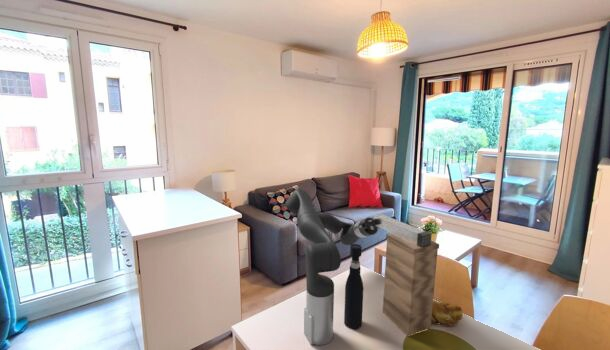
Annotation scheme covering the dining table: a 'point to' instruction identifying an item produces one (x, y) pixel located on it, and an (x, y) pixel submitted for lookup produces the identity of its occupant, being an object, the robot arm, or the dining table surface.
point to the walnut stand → (409, 284)
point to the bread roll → (446, 313)
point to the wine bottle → (354, 291)
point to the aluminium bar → (404, 230)
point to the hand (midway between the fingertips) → (386, 220)
